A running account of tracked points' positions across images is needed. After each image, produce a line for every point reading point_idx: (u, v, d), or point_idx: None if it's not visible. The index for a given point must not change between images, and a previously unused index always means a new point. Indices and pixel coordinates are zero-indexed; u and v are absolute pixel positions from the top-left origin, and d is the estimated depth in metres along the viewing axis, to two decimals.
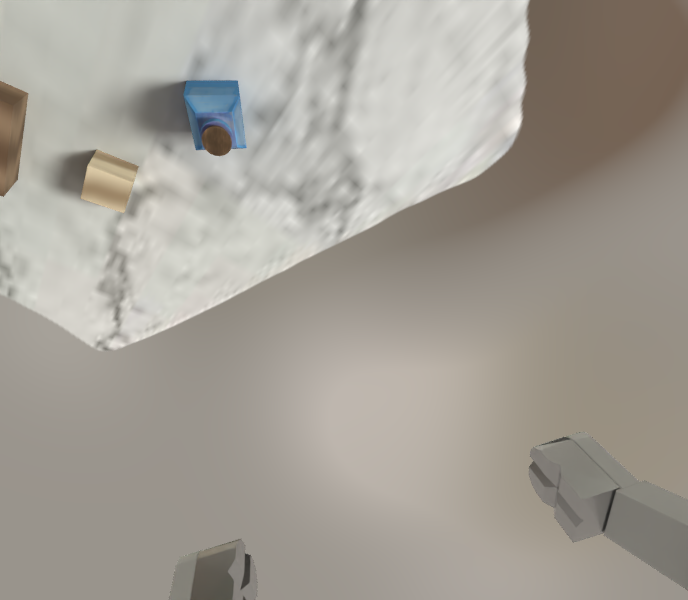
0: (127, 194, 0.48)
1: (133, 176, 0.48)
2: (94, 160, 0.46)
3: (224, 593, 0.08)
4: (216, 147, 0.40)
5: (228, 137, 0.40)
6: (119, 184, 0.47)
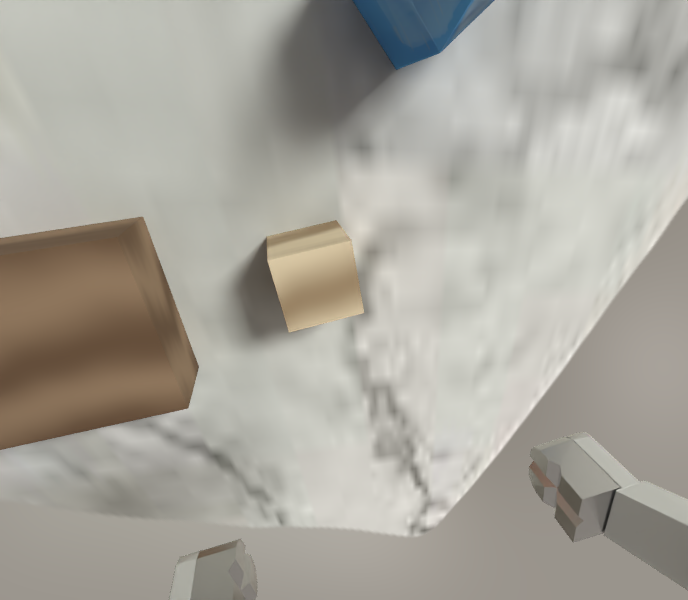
0: (353, 272, 0.22)
1: (343, 233, 0.23)
2: (272, 249, 0.22)
3: (224, 593, 0.08)
4: None
5: None
6: (332, 260, 0.21)
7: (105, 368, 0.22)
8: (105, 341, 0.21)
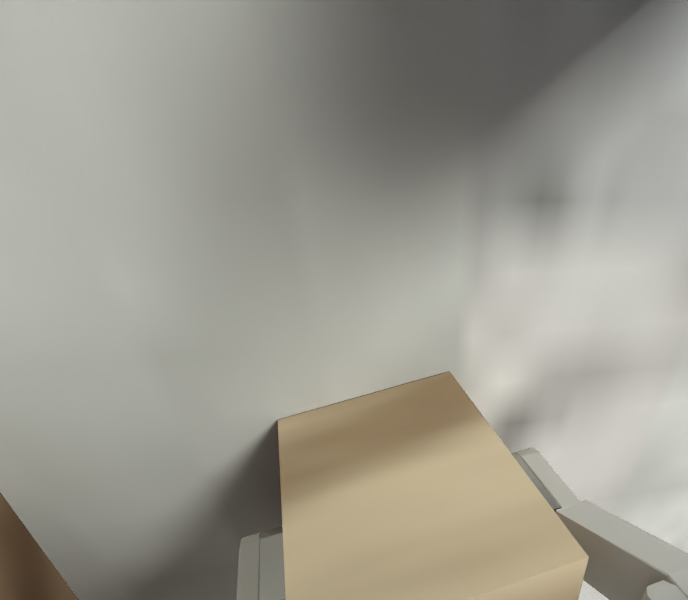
0: None
1: (517, 475, 0.07)
2: (301, 535, 0.07)
3: None
4: None
5: None
6: None
7: None
8: None
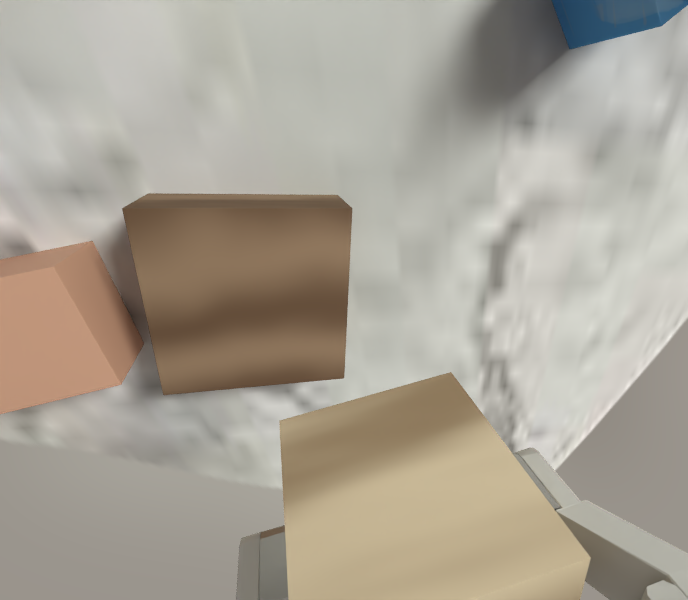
0: None
1: (519, 475, 0.07)
2: (303, 536, 0.07)
3: None
4: None
5: None
6: None
7: (292, 328, 0.23)
8: (303, 303, 0.23)
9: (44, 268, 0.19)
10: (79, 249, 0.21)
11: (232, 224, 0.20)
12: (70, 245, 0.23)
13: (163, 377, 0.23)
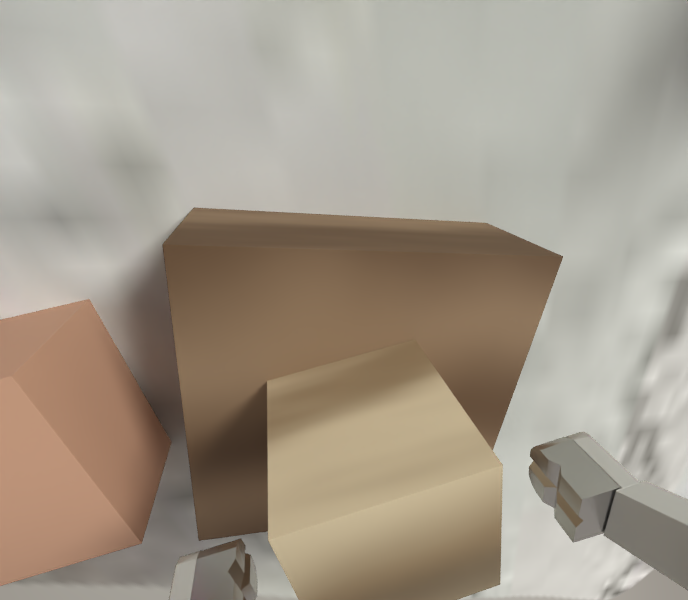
0: (493, 523, 0.08)
1: (458, 412, 0.09)
2: (281, 460, 0.09)
3: (224, 593, 0.08)
4: None
5: None
6: (444, 510, 0.08)
7: None
8: None
9: None
10: (65, 321, 0.12)
11: (361, 278, 0.11)
12: (52, 308, 0.14)
13: (202, 517, 0.14)
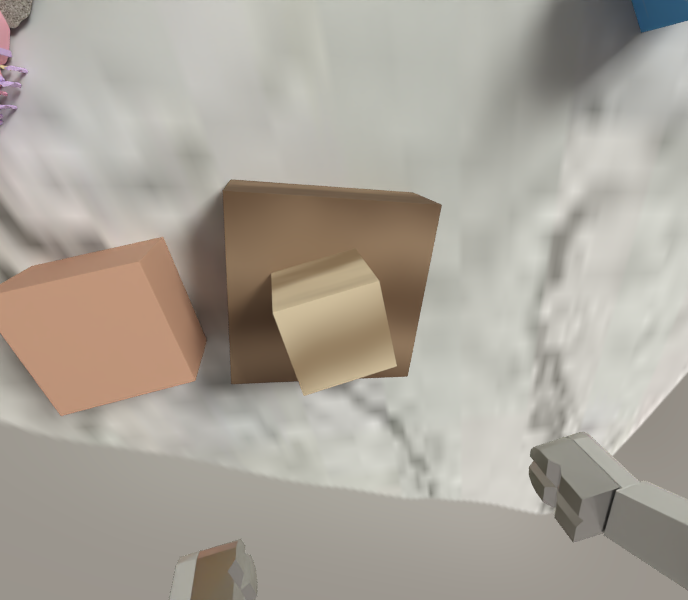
0: (382, 318, 0.17)
1: (367, 269, 0.18)
2: (278, 294, 0.18)
3: (224, 593, 0.08)
4: None
5: None
6: (355, 306, 0.17)
7: None
8: None
9: (130, 263, 0.19)
10: (154, 245, 0.21)
11: (325, 213, 0.20)
12: None
13: (234, 366, 0.23)
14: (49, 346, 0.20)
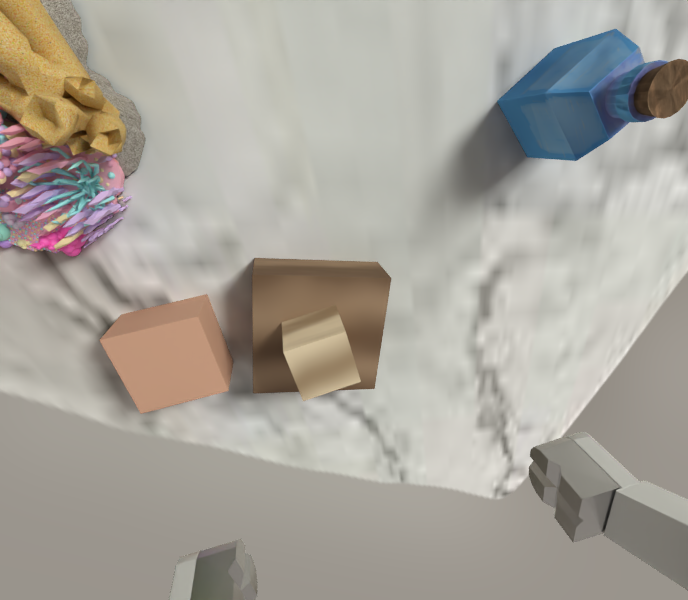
0: (349, 353, 0.28)
1: (340, 322, 0.29)
2: (286, 339, 0.29)
3: (224, 593, 0.08)
4: (671, 100, 0.22)
5: (687, 67, 0.22)
6: (332, 347, 0.28)
7: None
8: (353, 336, 0.34)
9: (192, 317, 0.30)
10: (203, 301, 0.33)
11: (315, 285, 0.31)
12: (193, 297, 0.34)
13: (255, 381, 0.34)
14: (139, 368, 0.31)
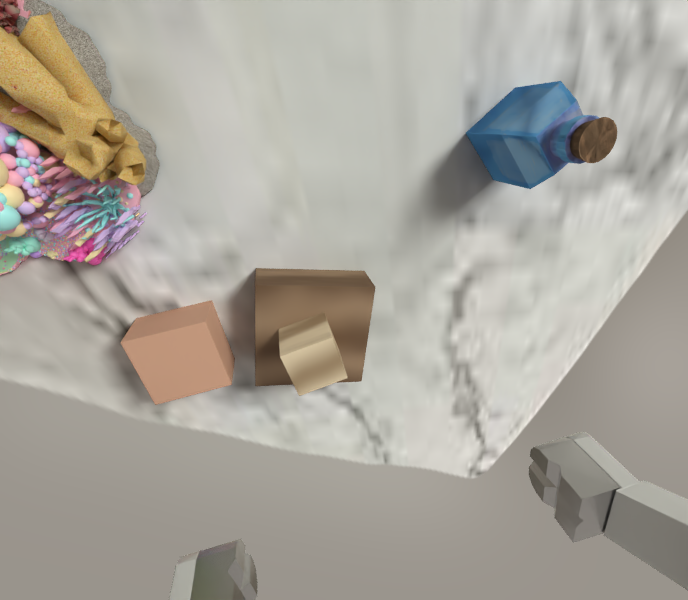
0: (336, 355, 0.34)
1: (327, 329, 0.34)
2: (282, 344, 0.34)
3: (224, 593, 0.08)
4: (598, 149, 0.27)
5: (611, 123, 0.27)
6: (321, 350, 0.33)
7: None
8: (342, 336, 0.39)
9: (200, 322, 0.35)
10: (209, 307, 0.37)
11: (309, 294, 0.36)
12: (199, 303, 0.39)
13: (257, 375, 0.39)
14: (154, 366, 0.36)
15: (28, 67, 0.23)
